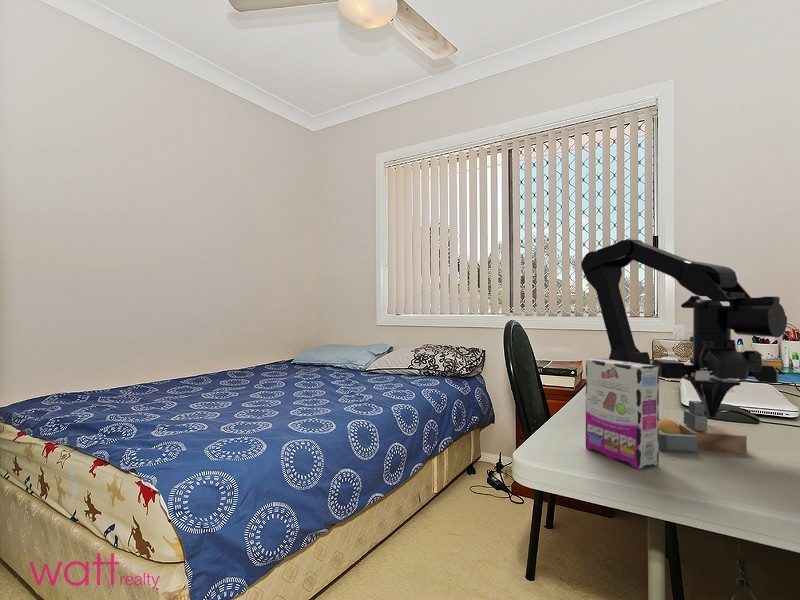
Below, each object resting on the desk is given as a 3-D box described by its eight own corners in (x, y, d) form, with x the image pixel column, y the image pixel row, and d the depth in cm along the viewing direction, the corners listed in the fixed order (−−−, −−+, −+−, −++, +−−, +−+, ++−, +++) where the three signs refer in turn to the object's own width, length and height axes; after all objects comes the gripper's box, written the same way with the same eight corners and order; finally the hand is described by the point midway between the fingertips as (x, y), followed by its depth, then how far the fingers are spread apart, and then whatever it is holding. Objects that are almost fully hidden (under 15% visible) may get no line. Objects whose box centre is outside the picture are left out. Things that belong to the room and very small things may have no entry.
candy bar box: (660, 466, 70) (661, 365, 70) (639, 470, 68) (639, 367, 68) (603, 445, 81) (604, 357, 81) (583, 448, 79) (584, 358, 79)
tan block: (692, 449, 78) (692, 432, 78) (678, 439, 84) (679, 423, 84) (746, 453, 76) (746, 436, 76) (728, 442, 82) (728, 426, 82)
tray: (660, 451, 77) (660, 434, 77) (639, 432, 88) (639, 418, 88) (697, 454, 76) (697, 436, 76) (672, 435, 87) (672, 420, 87)
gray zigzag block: (695, 430, 79) (695, 404, 79) (683, 423, 83) (683, 398, 83) (707, 431, 78) (707, 405, 78) (695, 423, 83) (695, 399, 83)
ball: (680, 419, 80) (686, 441, 79) (671, 414, 84) (677, 434, 83) (657, 424, 80) (663, 445, 80) (649, 418, 84) (655, 438, 84)
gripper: (674, 335, 74) (673, 425, 74) (800, 338, 71) (799, 433, 71) (650, 330, 85) (650, 409, 85) (758, 332, 82) (758, 415, 82)
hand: (710, 416), depth 80 cm, fingers closed
